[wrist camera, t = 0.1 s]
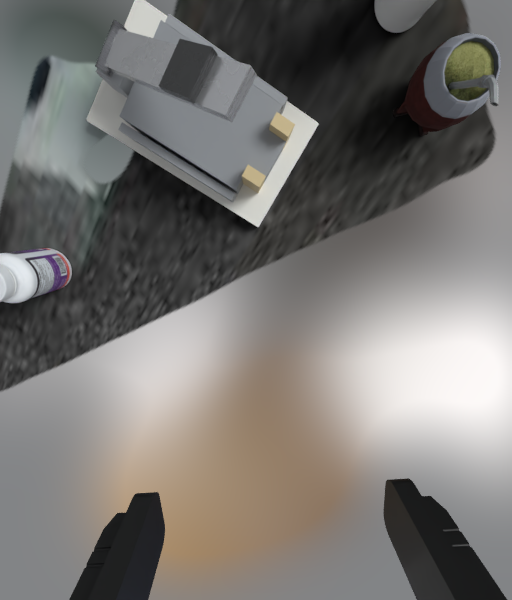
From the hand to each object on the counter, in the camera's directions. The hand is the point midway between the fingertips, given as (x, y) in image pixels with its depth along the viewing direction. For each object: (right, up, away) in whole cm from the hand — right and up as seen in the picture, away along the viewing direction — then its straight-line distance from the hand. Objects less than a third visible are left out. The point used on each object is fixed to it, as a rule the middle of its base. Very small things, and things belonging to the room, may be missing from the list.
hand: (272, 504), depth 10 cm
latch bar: (-7, +25, +13) cm, 29 cm away
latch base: (-6, +27, +23) cm, 36 cm away
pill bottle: (-27, +11, +27) cm, 40 cm away
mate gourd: (+18, +29, +23) cm, 41 cm away
